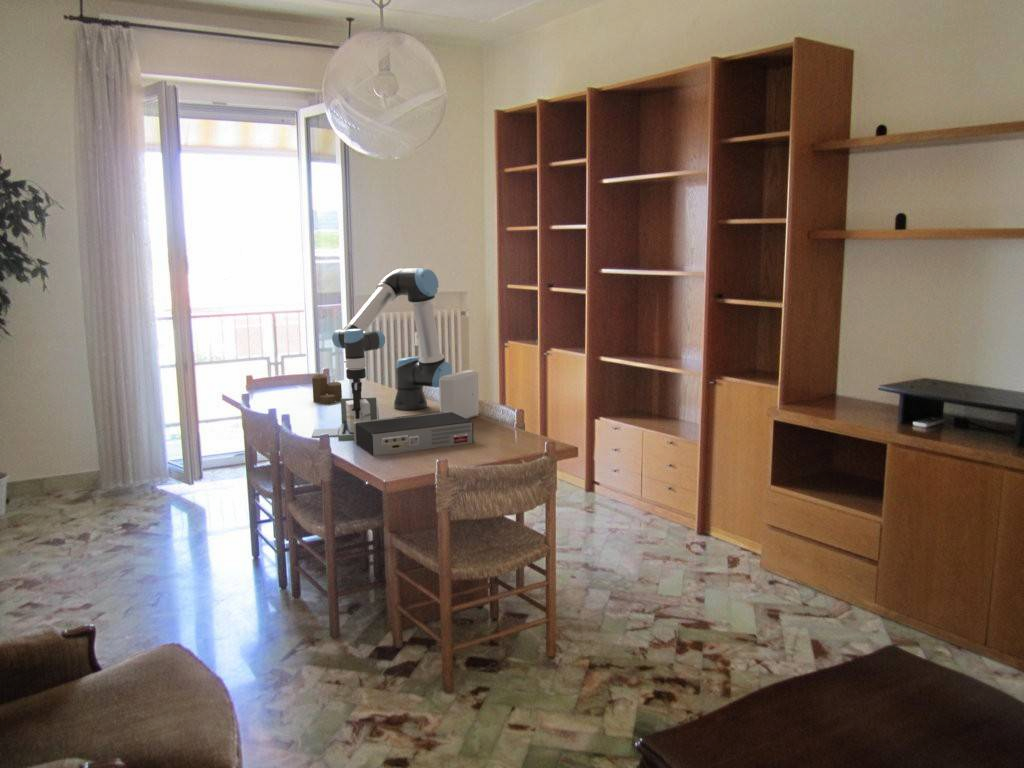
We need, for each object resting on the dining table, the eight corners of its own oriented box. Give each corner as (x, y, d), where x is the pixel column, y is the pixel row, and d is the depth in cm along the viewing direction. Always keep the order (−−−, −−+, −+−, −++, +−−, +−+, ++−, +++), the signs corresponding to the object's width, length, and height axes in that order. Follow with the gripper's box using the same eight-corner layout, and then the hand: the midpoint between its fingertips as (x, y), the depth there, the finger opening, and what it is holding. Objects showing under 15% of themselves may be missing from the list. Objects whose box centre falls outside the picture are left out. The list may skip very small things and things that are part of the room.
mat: (339, 429, 340) (339, 428, 340) (337, 436, 329) (337, 434, 328) (314, 430, 339) (314, 429, 339) (311, 437, 327) (311, 436, 327)
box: (372, 457, 299) (371, 433, 297) (352, 442, 320) (351, 420, 319) (473, 443, 316) (473, 421, 315) (448, 430, 338) (447, 409, 337)
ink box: (346, 428, 337) (345, 400, 334) (367, 426, 340) (366, 398, 337) (350, 433, 329) (348, 404, 327) (371, 431, 332) (370, 402, 329)
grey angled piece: (380, 425, 347) (378, 397, 345) (378, 438, 324) (377, 408, 322) (342, 426, 345) (340, 398, 343) (338, 440, 322) (336, 410, 320)
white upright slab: (464, 414, 367) (463, 369, 364) (480, 415, 363) (479, 370, 360) (436, 423, 350) (435, 376, 346) (452, 425, 346) (451, 377, 342)
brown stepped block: (305, 403, 396) (304, 372, 393) (320, 398, 409) (319, 367, 406) (331, 404, 392) (329, 373, 389) (345, 399, 405) (344, 368, 402)
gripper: (347, 364, 340) (350, 417, 344) (344, 373, 318) (347, 430, 322) (366, 363, 341) (369, 417, 345) (364, 372, 319) (367, 429, 323)
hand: (358, 423), depth 334 cm, fingers closed on ink box, 9 cm apart
